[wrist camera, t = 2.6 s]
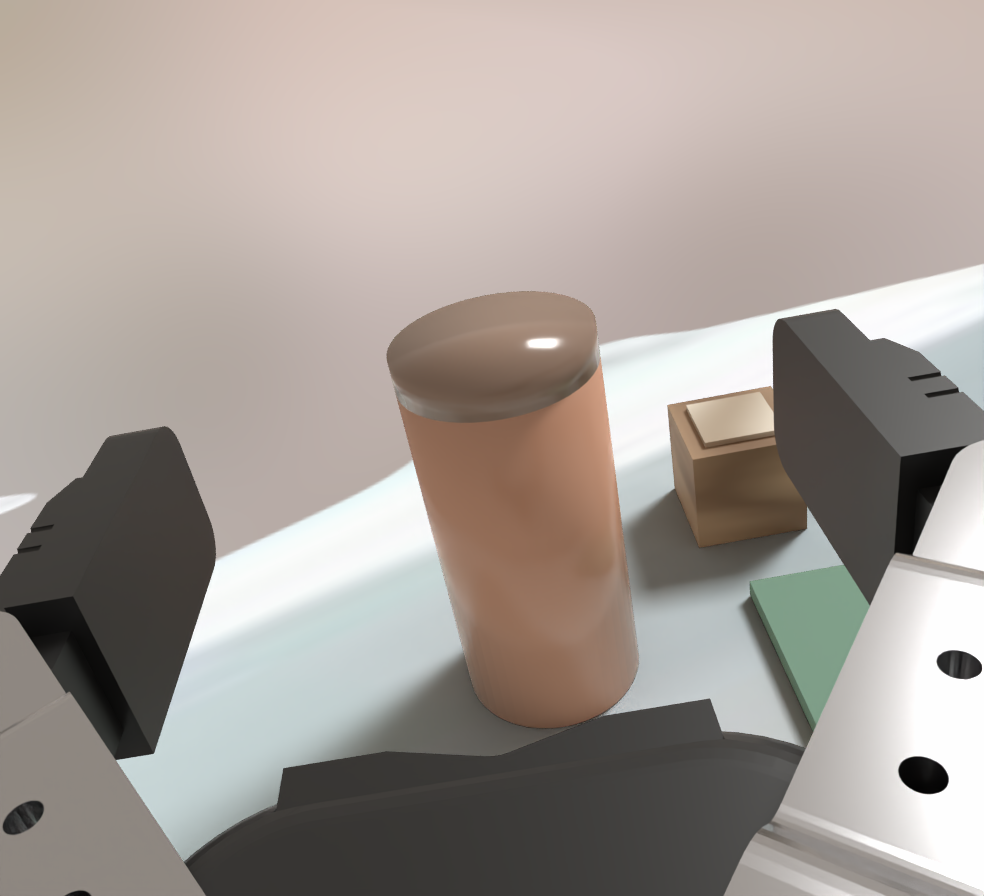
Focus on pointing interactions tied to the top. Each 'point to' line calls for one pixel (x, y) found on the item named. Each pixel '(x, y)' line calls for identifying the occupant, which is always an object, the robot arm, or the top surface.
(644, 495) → the top surface
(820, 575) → the green mat
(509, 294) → the canister
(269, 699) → the top surface
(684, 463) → the letter block
